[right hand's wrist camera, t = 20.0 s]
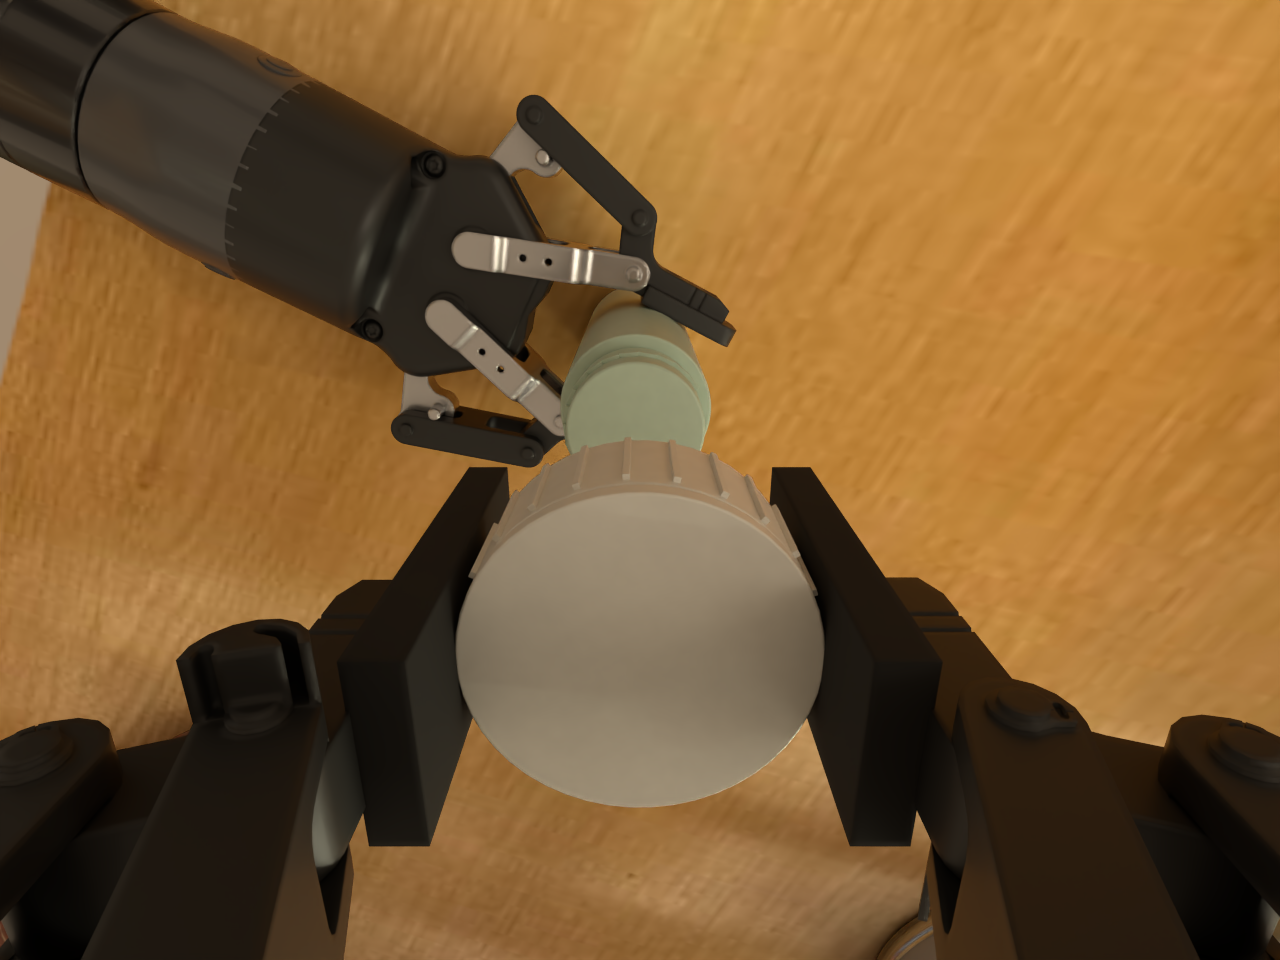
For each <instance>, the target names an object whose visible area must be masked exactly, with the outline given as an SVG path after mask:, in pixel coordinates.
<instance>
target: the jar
mask: <svg viewBox="0 0 1280 960" xmlns="http://www.w3.org/2000/svg"><path fill="white" fill-rule="evenodd" d="M560 412H561V420H562V424H563V430H564V436H565V444H566V446H567V448H568V450H569V452H570V455H572V454H574V453H577V452H579V451H580V450H581V447H582V446H585V445H588V448H590V447H594V446H598V445H602V444H606V443H612V442H619V441H624V438H625V437H631V440H652V441H661V442H669V439H671V440H675V441H676V444H678V445H682V446H686V447H690V448H693V449H696V450H698V451H701V449H702V445H703V442H704V436H705V434H706V431H707V428H708V425H709V421H710V414H711V399H710V392H709V388H708V385H707V382H706V379H705V377H704V374H703V372H702V369H701V367H700V364H699V361H698V359H697V356H696V354H695V351H694V349H693V346H692V344H691V341H690V339H689V336H688V334H687V331H686V328H685V326H684V325H682V324H680V323H678V322H676V321H675V320H673V319H671V318H669V317H668V316H666V315H664V314H662V313H660V312H657V311H655V310H654V309H652V308H650V307H648V306H646V305H644V304H642V303H641V296H640V295H638V294H636V293H634V292H632V291H626V290H619V289H617V290H615V291H613V292H611V293H609V294H608V295H607V296H606V297H604V298H603V299H602V300H601V301H600V303H599V304H598V305H597V307H596V308H595V310H594V312H593V314H592V316H591V318H590V321H589V323H588V326H587V328H586V331H585V333H584V336H583V338H582V340H581V343H580V345H579V348H578V350H577V353H576V355H575V357H574V360H573V362H572V365H571V367H570V370H569V372H568V375H567V377H566V380H565V382H564V385H563V388H562V394H561V401H560Z"/></svg>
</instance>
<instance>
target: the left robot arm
mask: <svg viewBox="0 0 1280 960" xmlns="http://www.w3.org/2000/svg"><path fill="white" fill-rule="evenodd" d="M516 116H517V122H516V123H515V125H514V126H513V127H512V129H511V130H510V131H509V132H508V134H507V135H506V136H505V138H504V139H503V140H502V142H501V143H500V144H499V146H498V147H497V148H496V149H495V151H494V152H493V153H492V155H491V156H490V157H487V156H482V155H473V156H463V155H457V154H454V153H452V152H450V151H448V150H446V149H444V148H442V147H441V146H439V145H437V144H435V143H433V142H431V141H429V140H428V139H426V138H424V137H422V136H420V135H418V134H416V133H414V132H413V131H411V130H409V129H407V128H405V127H403V126H401V125H399V124H398V123H396V122H394V121H392V120H390V119H388V118H386V117H385V116H383V115H381V114H379V113H377V112H375V111H373V110H371V109H370V108H368V107H366V106H364V105H362V104H360V103H358V102H357V101H355V100H353V99H351V98H349V97H347V96H345V95H344V94H342V93H340V92H338V91H336V90H334V89H332V88H330V87H329V86H327V85H325V84H323V83H321V82H319V81H317V80H316V79H314V78H312V77H310V76H308V75H306V74H304V73H303V72H301V71H299V70H297V69H296V68H295V67H293V66H291V65H290V64H289V63H287V62H285V61H283V60H280V59H278V58H275V57H273V56H271V55H269V54H267V53H265V52H263V51H261V50H259V49H257V48H255V47H253V46H251V45H249V44H247V43H245V42H243V41H241V40H238V39H236V38H233V37H231V36H228V35H226V34H223V33H220V32H218V31H215V30H212V29H210V28H207V27H204V26H202V25H199V24H197V23H194V22H192V21H190V20H188V19H186V18H184V17H182V16H180V15H178V14H177V13H175V12H173V11H171V10H169V9H167V8H165V7H163V6H162V5H160V4H158V3H156V2H154V1H152V0H0V157H1V158H4V159H6V160H7V161H9V162H11V163H13V164H16V165H18V166H20V167H22V168H24V169H26V170H28V171H30V172H31V173H34V174H36V175H38V176H40V177H42V178H44V179H46V180H48V181H50V182H52V183H54V184H56V185H58V186H60V187H62V188H65V189H67V190H69V191H71V192H73V193H75V194H77V195H79V196H81V197H83V198H85V199H87V200H90V201H92V202H94V203H96V204H98V205H100V206H102V207H104V208H106V209H108V210H111V211H113V212H115V213H116V214H118V215H120V216H122V217H124V218H125V219H127V220H128V221H130V222H132V223H133V224H135V225H137V226H138V227H140V228H141V229H143V230H144V231H146V232H147V233H149V234H150V235H152V236H153V237H155V238H157V239H158V240H160V241H162V242H163V243H165V244H167V245H169V246H171V247H172V248H174V249H176V250H178V251H180V252H182V253H184V254H186V255H188V256H190V257H192V258H194V259H196V260H198V261H200V262H201V263H202V264H204V265H205V267H206V268H208V269H210V270H212V271H214V272H216V273H218V274H220V275H223V276H225V277H228V278H230V279H234V280H235V279H238V280H240V281H242V282H244V283H246V284H248V285H250V286H252V287H255V288H257V289H259V290H261V291H263V292H265V293H267V294H269V295H271V296H273V297H276V298H278V299H280V300H282V301H284V302H286V303H288V304H290V305H292V306H294V307H296V308H299V309H301V310H303V311H305V312H307V313H309V314H311V315H313V316H315V317H317V318H319V319H321V320H324V321H326V322H328V323H330V324H332V325H334V326H336V327H338V328H340V329H342V330H344V331H346V332H349V333H351V334H353V335H355V336H357V337H360V338H362V339H365V340H367V341H369V342H371V343H373V344H375V345H377V346H378V347H379V348H381V349H382V350H383V351H384V352H385V353H386V354H387V355H388V356H389V357H390V358H391V360H392V361H393V362H394V364H395V365H396V366H397V367H398V368H399V369H400V370H402V371H403V372H404V383H403V394H402V406H401V412H400V414H399V415H398V416H397V417H396V418H395V419H394V420H393V422H392V424H391V432H392V434H393V436H394V438H395V439H396V440H398V441H399V442H401V443H403V444H408V445H413V446H418V447H423V448H428V449H434V450H439V451H444V452H449V453H454V454H460V455H465V456H470V457H475V458H480V459H486V460H491V461H496V462H501V463H506V464H512V465H517V466H522V467H534V466H536V465H538V464H539V463H540V462H541V460H542V458H543V456H544V455H545V454H546V453H547V452H548V451H549V450H550V449H551V448H552V447H553V446H555V445H556V444H557V443H558V442H559V441H561V440H564V439H565V436H564V430H563V424H562V420H561V412H560V401H561V394H562V388H563V385H564V382H563V381H562V380H561V379H560V378H558V377H557V376H556V375H555V374H554V373H553V372H552V371H551V370H550V369H549V368H548V366H547V365H546V363H545V361H544V360H543V359H542V357H541V356H540V355H539V354H538V353H537V352H536V351H535V350H533V349H532V348H531V347H530V346H529V345H528V344H527V343H526V342H527V339H528V337H529V335H530V333H531V331H532V328H533V322H534V316H535V310H536V307H537V306H538V305H539V303H540V302H541V301H542V300H543V299H544V297H545V296H546V295H547V294H548V293H549V291H550V289H551V286H552V284H553V282H554V281H558V282H564V283H571V284H587V285H594V286H600V287H606V288H613V289H619V290H626V291H632V292H634V293H636V294H638V295H640V296H641V303H642V304H644V305H646V306H648V307H650V308H652V309H654V310H655V311H657V312H660V313H662V314H664V315H666V316H668V317H669V318H671V319H673V320H675V321H676V322H678V323H680V324H682V325H684V326H686V327H688V328H690V329H692V330H694V331H696V332H698V333H699V334H701V335H703V336H705V337H707V338H709V339H711V340H713V341H715V342H717V343H719V344H721V345H723V346H725V347H728V345H729V343H730V341H731V339H732V338H733V336H734V334H735V332H736V329H735V328H734V327H733V326H732V325H731V324H730V323H728V322H727V321H725V318H726V316H727V315H728V313H729V310H728V309H727V308H726V307H725V305H724V304H723V303H722V302H721V301H720V299H719V298H718V297H717V296H716V295H714V294H712V293H710V292H708V291H707V290H705V289H703V288H701V287H699V286H697V285H695V284H693V283H692V282H690V281H688V280H686V279H684V278H682V277H680V276H679V275H677V274H675V273H673V272H671V271H669V270H667V269H666V268H664V267H662V266H661V265H659V264H658V262H657V261H656V260H655V258H654V255H653V245H654V237H655V229H656V223H657V213H656V210H655V208H654V207H653V206H652V205H651V204H650V203H649V202H648V201H647V200H646V199H645V198H644V197H643V196H642V195H641V194H640V193H639V192H638V191H637V190H636V189H635V188H634V187H633V186H632V185H631V184H630V183H629V182H628V181H627V180H626V179H625V178H624V177H623V176H622V175H621V174H620V173H619V172H618V171H617V170H616V169H615V168H614V167H613V166H612V165H611V164H610V163H609V162H608V161H607V160H606V159H605V158H604V157H603V156H602V155H601V154H600V153H599V152H598V151H597V150H596V149H595V148H594V147H593V146H592V145H591V144H590V143H589V142H588V141H587V140H586V139H585V138H584V137H583V136H582V135H581V134H580V133H579V132H578V131H577V130H576V129H575V128H574V127H573V126H572V125H571V124H570V123H569V122H568V121H567V120H565V119H564V118H563V117H562V116H561V115H560V114H559V113H558V112H557V111H556V110H555V109H554V108H553V107H552V106H551V105H550V104H549V103H548V102H547V101H546V100H545V99H544V98H542V97H541V96H538V95H529V96H527V97H525V98H523V99H522V100H521V102H520V103H519V105H518V107H517V113H516ZM563 169H564V170H565V171H566V172H567V173H568V174H569V175H570V176H571V177H572V178H573V179H574V180H575V181H576V182H577V183H578V184H579V185H581V186H582V187H583V188H584V189H585V190H586V191H587V192H588V193H589V194H590V195H591V196H592V197H593V198H594V199H595V200H596V201H597V202H598V203H599V204H600V205H601V206H602V207H603V208H604V209H605V210H606V211H607V212H609V213H610V214H611V215H612V216H613V217H614V218H615V219H616V220H617V221H618V222H619V223H620V224H621V225H622V230H621V240H620V249H619V250H615V249H609V248H603V247H597V246H592V245H588V244H583V243H577V242H570V241H564V240H558V239H552V238H546V236H545V234H544V232H543V230H542V228H541V227H540V225H539V223H538V221H537V219H536V217H535V215H534V213H533V211H532V209H531V208H530V206H529V204H528V202H527V200H526V198H525V196H524V194H523V192H522V190H521V189H520V187H519V185H518V183H517V181H516V179H515V177H514V176H515V175H516V174H517V173H519V172H521V171H524V170H531V171H533V172H534V173H536V174H537V175H539V176H541V177H545V178H553V177H555V176H557V175H559V174H560V173H561V171H562V170H563ZM500 366H502V367H503V368H504V370H502V369H500ZM473 369H478V370H479V371H480V372H481V373H482V374H483V375H484V376H485V377H486V378H488V379H489V380H490V381H491V382H492V383H493V384H494V385H495V386H496V387H497V388H498V389H499V390H500V391H502V392H503V393H504V394H505V395H506V396H507V397H508V398H510V399H511V400H513V401H516V402H519V403H520V404H521V405H522V406H523V407H525V408H526V409H527V410H528V411H529V412H530V413H531V414H532V415H533V416H534V418H533V419H532V420H529V419H523V418H518V417H513V416H508V415H503V414H498V413H493V412H488V411H483V410H478V409H473V408H468V407H463V406H459V401H458V398H457V397H456V395H455V394H454V393H452V392H451V391H449V390H446V389H443V388H442V387H440V386H439V385H438V384H437V382H436V380H435V378H434V375H441V374H447V373H454V372H460V371H466V370H473Z"/></svg>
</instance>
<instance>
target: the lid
mask: <svg viewBox="0 0 1280 960" xmlns="http://www.w3.org/2000/svg"><path fill="white" fill-rule="evenodd" d="M468 577H470V578H472V579H473V581H472V583H471V585H470V587H469V590H468V592H467V594H466V597H465V600H464V603H463V605H462V608H461V611H460V614H459V619H458V624H457V629H456V639H455V653H456V663H457V672H458V679H459V683H460V686H461V690H462V694H463V697H464V699H465V701H466V704H467V706H468V708H469V710H470V713H471V715H472V716H473V718H474V720H475V721H476V723H477V725H478V726H479V728H480V729H481V731H482V732H483V734H484V735H485V736H486V737H487V739H488V740H489V741H490V742H491V743H492V745H493V746H494V747H495V748H496V749H497V750H498V751H499V752H500V753H501V754H502V755H503V756H504V757H505V758H506V759H507V760H508V761H509V762H511V763H512V764H513V765H515V766H516V767H517V768H519V769H520V770H521V771H523V772H524V773H525V774H527V775H528V776H530V777H532V778H534V779H535V780H537V781H539V782H540V783H542V784H544V785H546V786H548V787H550V788H553V789H555V790H557V791H559V792H562V793H564V794H566V795H570V796H573V797H576V798H579V799H582V800H586V801H590V802H595V803H600V804H605V805H612V806H622V807H658V806H668V805H676V804H680V803H685V802H690V801H694V800H698V799H701V798H704V797H707V796H710V795H713V794H716V793H719V792H721V791H723V790H725V789H727V788H730V787H732V786H734V785H736V784H738V783H740V782H741V781H743V780H745V779H746V778H748V777H750V776H752V775H753V774H755V773H756V772H757V771H759V770H760V769H761V768H763V767H764V766H765V765H767V764H768V763H769V762H771V761H772V760H773V759H774V758H775V757H776V756H777V755H778V754H779V753H780V752H781V751H782V750H783V749H784V748H785V747H786V746H787V745H788V744H789V742H790V741H791V740H792V739H793V737H794V736H795V735H796V734H797V732H798V731H799V730H800V728H801V727H802V725H803V723H804V721H805V720H806V718H807V716H808V715H809V713H810V711H811V709H812V706H813V704H814V701H815V699H816V697H817V694H818V691H819V687H820V683H821V677H822V668H823V659H824V649H825V637H824V628H823V623H822V619H821V614H820V610H819V607H818V605H817V602H816V599H815V597H814V596H817V595H818V592H817V589H816V587H815V585H814V583H813V581H812V579H811V577H810V574H809V572H808V570H807V568H806V566H805V564H804V562H803V560H802V558H801V556H800V553H799V551H798V549H797V547H796V544H795V542H794V540H793V538H792V536H791V534H790V532H789V530H788V528H787V526H786V523H785V521H784V519H783V517H782V515H781V513H780V511H779V509H778V507H777V506H776V504H774V505H773V506H771V505H770V504H769V503H768V501H767V500H766V499H765V497H764V496H763V495H762V494H761V492H760V491H759V490H758V489H757V488H756V486H755V484H754V481H753V479H752V477H751V476H749V475H748V474H747V475H746V476H745V477H744V476H743V475H742V474H740V473H739V472H737V471H736V470H735V469H733V468H732V467H731V466H729V465H728V464H726V463H724V462H722V461H720V460H719V459H718V456H717V454H715V453H713V452H711V453H710V455H709V454H706V453H703V452H701V451H698V450H696V449H693V448H690V447H686V446H682V445H678V444H676V441H675V440H671V439H669V442H661V441H652V440H631V437H625V438H624V441H619V442H612V443H606V444H602V445H598V446H594V447H590V448H588V445H585V446H582V447H581V450H580V451H579V452H577V453H574V454H572V455H569V456H567V457H565V458H563V459H562V460H560V461H558V462H556V463H555V464H553V465H551V466H550V465H549V464H548V463H547V464H545V465H544V466H543V467H542V470H541V472H540V474H539V475H537V476H536V477H535V478H533V479H532V480H531V481H530V482H529V483H528V484H527V485H526V486H525V487H524V488H523V489H522V490H521V491H520V492H518V491H517V490H515V491H514V493H513V494H512V496H511V498H510V500H509V502H508V504H507V507H506V509H505V511H504V513H503V515H502V517H501V520H500V522H499V524H496V523H494V524H493V526H492V528H491V530H490V532H489V534H488V536H487V538H486V540H485V542H484V544H483V547H482V549H481V551H480V553H479V555H478V557H477V559H476V561H475V563H474V565H473V567H472V569H471V572H470V574H469V576H468Z"/></svg>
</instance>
